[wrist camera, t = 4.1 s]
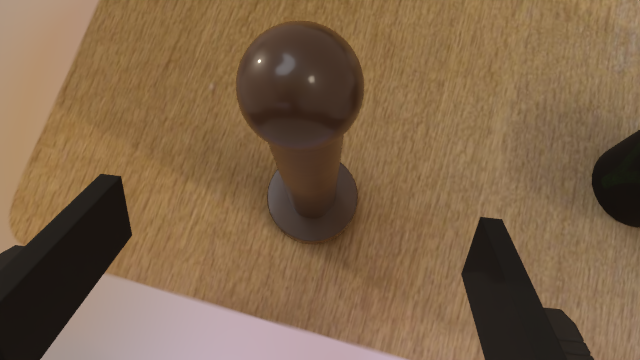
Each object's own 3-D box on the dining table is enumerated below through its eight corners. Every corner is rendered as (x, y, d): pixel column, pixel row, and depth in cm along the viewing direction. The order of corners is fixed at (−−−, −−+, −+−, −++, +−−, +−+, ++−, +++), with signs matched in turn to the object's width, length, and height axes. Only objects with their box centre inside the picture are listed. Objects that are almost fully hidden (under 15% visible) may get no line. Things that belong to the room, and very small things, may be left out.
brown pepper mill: (258, 229, 28) (146, 128, 10) (285, 150, 29) (226, -64, 11) (342, 254, 27) (379, 195, 10) (365, 172, 29) (434, -13, 11)
